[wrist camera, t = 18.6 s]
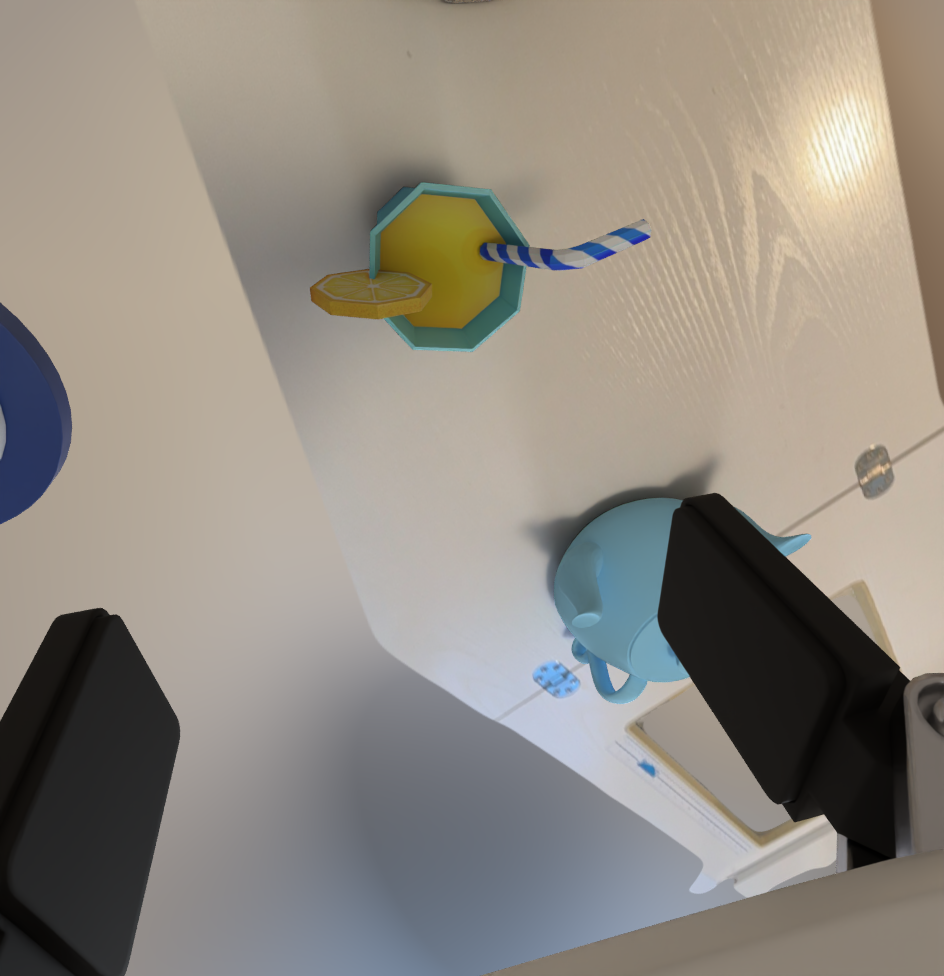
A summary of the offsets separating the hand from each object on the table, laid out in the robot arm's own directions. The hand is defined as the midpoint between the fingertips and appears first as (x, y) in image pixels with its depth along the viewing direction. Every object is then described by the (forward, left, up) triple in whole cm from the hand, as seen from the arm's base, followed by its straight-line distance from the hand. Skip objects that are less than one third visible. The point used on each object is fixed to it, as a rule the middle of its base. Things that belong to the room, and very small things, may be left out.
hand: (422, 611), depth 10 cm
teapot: (+21, -28, -31) cm, 46 cm away
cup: (+5, +1, -31) cm, 31 cm away
